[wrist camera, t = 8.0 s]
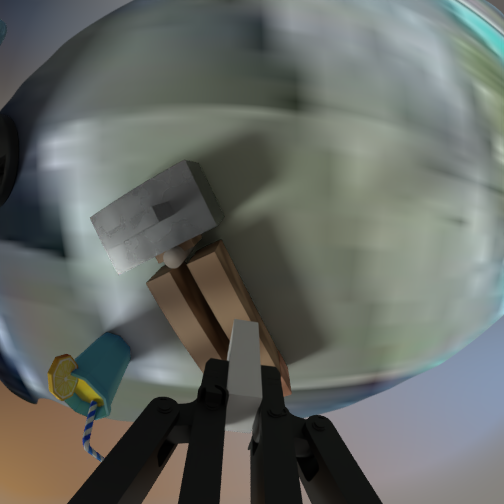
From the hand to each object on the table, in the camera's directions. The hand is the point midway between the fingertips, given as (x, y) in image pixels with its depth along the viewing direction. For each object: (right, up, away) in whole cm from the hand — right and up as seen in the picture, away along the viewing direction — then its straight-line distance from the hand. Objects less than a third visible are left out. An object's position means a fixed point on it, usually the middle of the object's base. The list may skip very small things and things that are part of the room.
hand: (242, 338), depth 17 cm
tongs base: (-4, 0, +14) cm, 15 cm away
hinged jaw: (0, -2, +14) cm, 14 cm away
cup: (-18, -9, +17) cm, 26 cm away
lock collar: (-8, +10, +11) cm, 17 cm away
